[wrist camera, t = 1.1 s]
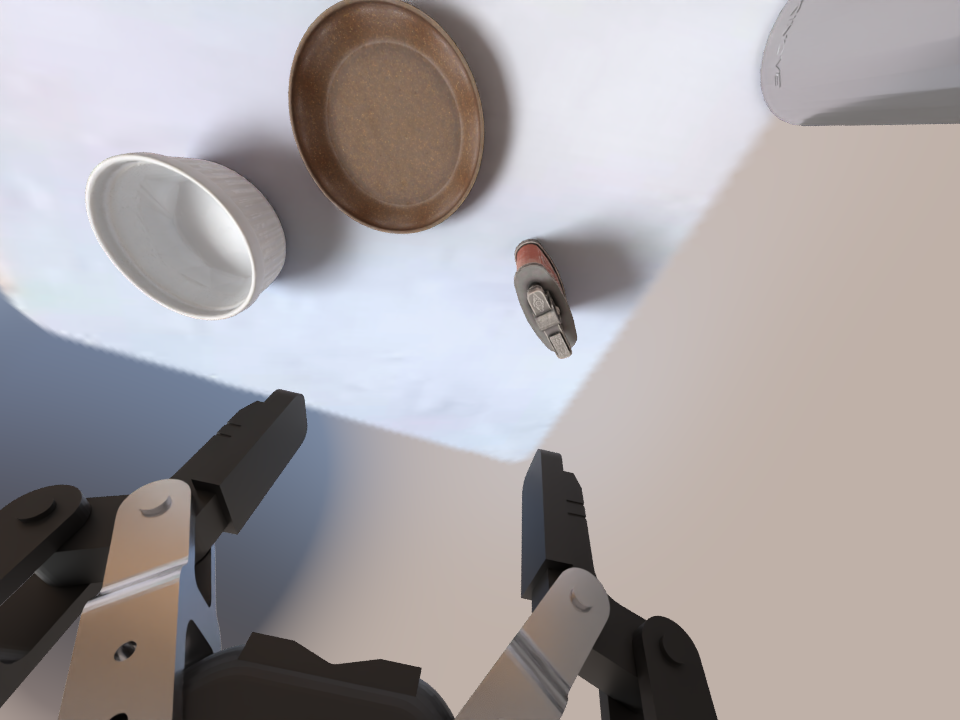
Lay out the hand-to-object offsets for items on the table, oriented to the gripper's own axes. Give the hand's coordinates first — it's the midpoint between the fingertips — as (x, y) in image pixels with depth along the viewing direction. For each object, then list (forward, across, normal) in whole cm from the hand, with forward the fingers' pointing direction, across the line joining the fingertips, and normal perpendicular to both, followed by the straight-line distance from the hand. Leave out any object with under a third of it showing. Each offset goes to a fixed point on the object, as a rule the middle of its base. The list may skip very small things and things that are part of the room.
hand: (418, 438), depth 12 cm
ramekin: (+24, +24, +4) cm, 35 cm away
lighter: (+25, -6, +2) cm, 26 cm away
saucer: (+25, +9, -7) cm, 28 cm away
